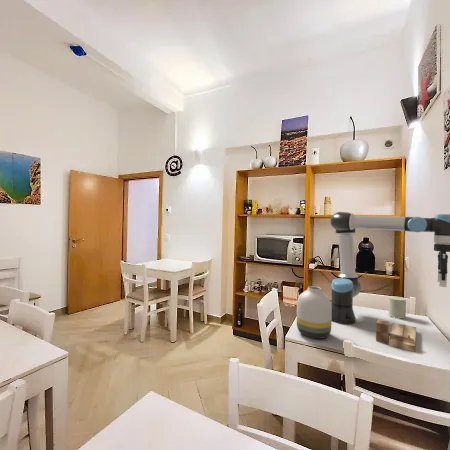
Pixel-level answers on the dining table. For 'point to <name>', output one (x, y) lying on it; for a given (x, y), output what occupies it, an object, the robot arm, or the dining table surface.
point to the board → (404, 331)
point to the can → (397, 307)
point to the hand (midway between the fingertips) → (441, 284)
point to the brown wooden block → (387, 333)
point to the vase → (314, 313)
